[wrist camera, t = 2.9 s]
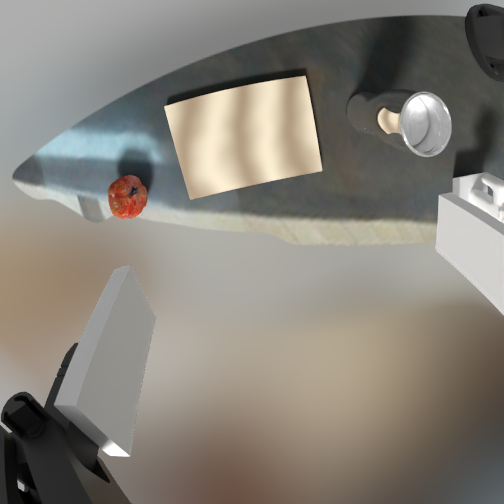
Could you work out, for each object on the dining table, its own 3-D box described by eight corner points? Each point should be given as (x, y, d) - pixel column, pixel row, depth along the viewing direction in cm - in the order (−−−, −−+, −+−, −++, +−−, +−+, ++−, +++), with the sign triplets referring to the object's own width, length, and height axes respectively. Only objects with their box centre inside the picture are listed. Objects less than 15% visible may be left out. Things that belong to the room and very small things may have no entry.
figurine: (474, 160, 40) (536, 188, 27) (473, 209, 45) (527, 246, 31) (446, 164, 41) (509, 195, 27) (445, 216, 45) (500, 258, 32)
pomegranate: (137, 211, 43) (165, 203, 38) (108, 229, 39) (132, 223, 34) (122, 177, 41) (148, 163, 36) (91, 192, 37) (112, 180, 32)
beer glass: (339, 89, 35) (395, 88, 22) (385, 88, 35) (451, 91, 22) (345, 138, 38) (400, 161, 25) (389, 135, 38) (453, 157, 25)
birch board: (303, 76, 34) (305, 75, 33) (319, 168, 40) (322, 170, 39) (166, 106, 35) (164, 106, 34) (191, 197, 41) (190, 199, 40)
